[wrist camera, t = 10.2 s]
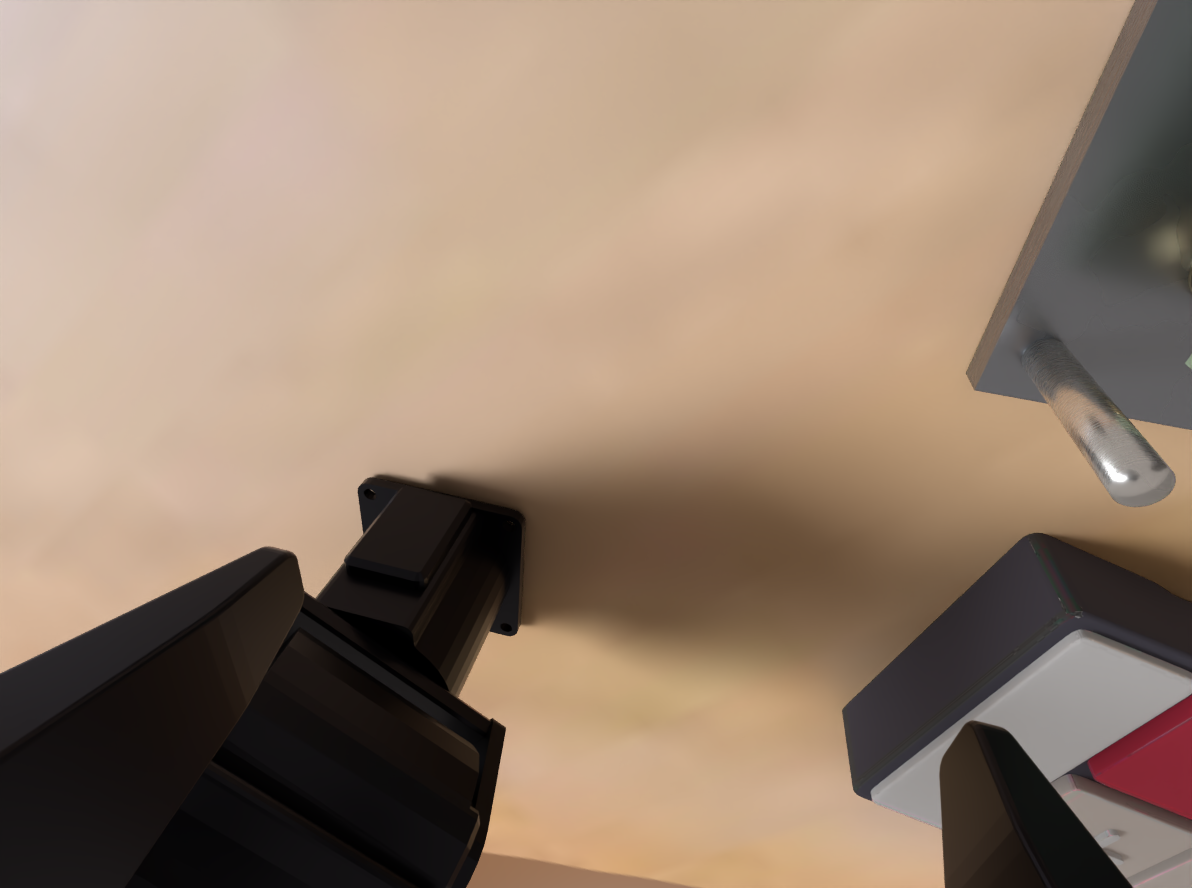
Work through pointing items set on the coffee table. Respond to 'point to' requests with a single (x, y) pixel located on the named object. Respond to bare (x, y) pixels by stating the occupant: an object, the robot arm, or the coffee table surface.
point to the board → (1189, 362)
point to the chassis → (1112, 267)
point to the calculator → (1049, 701)
